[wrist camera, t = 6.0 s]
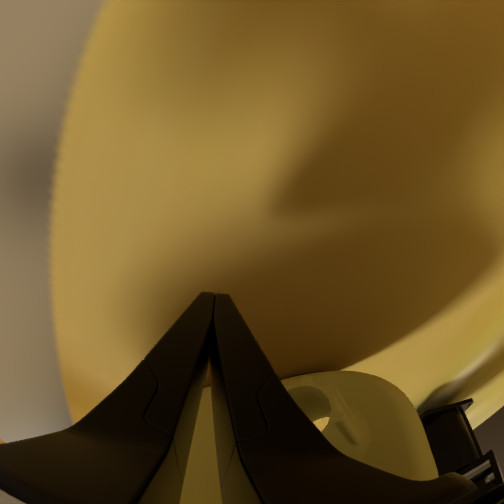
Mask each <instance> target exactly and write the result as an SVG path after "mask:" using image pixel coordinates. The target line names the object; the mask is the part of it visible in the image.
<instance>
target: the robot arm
mask: <svg viewBox="0 0 504 504" xmlns="http://www.w3.org/2000/svg"><path fill="white" fill-rule="evenodd" d="M214 301H215V302H214ZM213 311H214V312H213ZM210 344H211V345H210ZM209 355H210V358H209ZM208 363H209V369H210V385H211V399H212V411H213V423H214V434H215V445H216V455H217V464H218V474H219V482H220V489H221V499H222V504H504V477H503V474H502V472H501V469H500V466H499V463H498V461H497V458H496V456H495V453H494V451H493V450H492V449H491V450H489V451H488V452H487V453H486V454H485V455H484V456H483V454H482V452H481V449H480V447H479V444H478V442H477V440H476V437H475V435H474V432H473V430H472V428H471V426H470V423H469V421H468V419H467V417H466V414H465V412H464V411H466V410H467V409H468V408H469V407H470V406H471V405H472V404H473V402H474V401H473V399H472V398H470V399H467V400H464V401H460V402H457V403H453V404H450V405H446V406H442V407H438V408H434V409H430V410H427V411H425V412H424V413H423V414H421V415H420V416H419V418H420V420H421V423H422V425H423V428H424V431H425V434H426V437H427V440H428V443H429V446H430V449H431V452H432V455H433V458H434V461H435V464H436V467H437V470H438V476H439V477H437V478H435V479H431V480H425V481H418V480H411V479H407V478H403V477H400V476H397V475H395V474H392V473H389V472H386V471H383V470H381V469H378V468H375V467H373V466H370V465H368V464H365V463H363V462H360V461H358V460H355V459H353V458H351V457H349V456H347V455H345V454H343V453H342V452H341V451H339V450H338V449H337V448H335V447H334V446H333V445H332V444H331V443H330V442H329V441H328V440H327V438H326V437H325V436H324V435H323V434H322V433H321V432H320V430H319V429H318V428H317V427H316V426H315V425H314V424H313V422H312V421H311V420H310V419H309V418H308V417H307V415H306V414H305V413H304V412H303V411H302V410H301V408H300V407H299V406H298V405H297V403H296V402H295V401H294V399H293V398H292V397H291V396H290V394H289V393H288V391H287V390H286V388H285V387H284V385H283V384H282V382H281V381H280V379H279V377H278V376H277V374H276V373H274V372H275V371H274V369H273V368H272V366H271V364H270V363H269V361H268V360H267V358H266V356H265V355H264V353H263V351H262V350H261V348H260V346H259V345H258V343H257V341H256V340H255V338H254V336H253V335H252V333H251V331H250V329H249V328H248V326H247V324H246V323H245V321H244V319H243V318H242V316H241V314H240V312H239V311H238V309H237V307H236V306H235V304H234V302H233V300H232V299H231V297H230V295H228V294H221V293H217V294H216V295H215V294H214V293H211V292H201V293H200V294H199V295H198V296H197V297H196V298H195V300H194V301H193V302H192V303H191V304H190V305H189V306H188V308H187V309H186V310H185V311H184V312H183V313H182V315H181V316H180V317H179V318H178V319H177V320H176V321H175V323H174V324H173V325H172V326H171V327H170V328H169V330H168V331H167V332H166V333H165V334H164V335H163V337H162V338H161V339H160V340H159V341H158V342H157V344H156V345H155V346H154V347H153V348H152V349H151V351H150V352H149V353H148V354H147V355H146V356H145V358H144V360H142V361H141V362H140V363H139V365H138V366H137V367H136V368H135V369H134V370H133V371H132V372H131V374H130V375H129V376H128V377H127V378H126V379H125V380H124V381H123V382H122V383H121V384H120V385H119V386H118V387H117V388H116V389H115V390H114V391H112V392H111V393H110V394H109V395H108V396H107V397H106V398H105V399H103V400H102V401H101V402H100V403H99V404H98V405H97V406H96V407H94V408H93V409H92V410H91V411H90V412H89V413H88V414H87V415H85V416H84V417H83V418H82V419H81V420H80V421H78V422H77V423H75V424H74V425H72V426H71V427H69V428H67V429H64V430H62V431H58V432H54V433H51V434H46V435H43V436H38V437H34V438H29V439H24V440H20V441H15V442H10V443H2V444H0V504H179V503H180V498H181V493H182V486H183V482H184V477H185V472H186V467H187V463H188V458H189V453H190V448H191V443H192V438H193V434H194V429H195V424H196V419H197V415H198V410H199V405H200V401H201V396H202V391H203V387H204V382H205V378H206V373H207V369H208ZM488 462H490V464H491V466H490V467H488V468H487V469H485V470H483V471H482V472H480V473H479V474H477V475H476V476H474V477H472V478H470V479H468V478H466V477H465V476H467V475H469V474H470V473H472V472H474V471H476V470H477V469H479V468H480V467H482V466H484V465H485V464H487V463H488ZM492 475H494V476H495V478H494V479H492V480H491V481H489V479H488V478H489V477H491V476H492Z"/></svg>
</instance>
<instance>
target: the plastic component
mask: <svg viewBox="0 0 504 504" xmlns="http://www.w3.org/2000/svg"><path fill="white" fill-rule="evenodd" d="M280 381H281V382H282V384H283V385H284V387H285V388H286V390H287V391H288V393H289V394H290V396H291V397H292V398H293V399H294V401H295V402H296V403H297V405H298V406H299V407H300V408H301V410H302V411H303V412H304V413H305V414H306V415H307V417H308V418H309V419H310V420H311V421H312V422H313V421H315V420H317V419H320V418H323V417H330V418H329V422H328V424H327V426H326V427H325V428H324V429H323V431H322V432H321V433H322V434H323V435H324V436H325V437H326V438H327V440H328V441H329V442H330V443H331V444H332V445H333V446H334V447H335V448H337V449H338V450H339V451H341V452H342V453H343V454H345V455H347V456H349V457H351V458H353V459H355V460H358V461H360V462H363V463H365V464H368V465H370V466H373V467H375V468H378V469H381V470H383V471H386V472H389V473H392V474H395V475H397V476H400V477H403V478H407V479H411V480H418V481H425V480H431V479H435V478H437V477H439V476H438V470H437V467H436V464H435V461H434V458H433V455H432V452H431V449H430V446H429V443H428V440H427V437H426V434H425V431H424V428H423V425H422V423H421V420H420V418H419V415H418V413H417V411H416V410H415V408H414V406H413V404H412V403H411V401H410V400H409V399H408V397H407V396H406V395H405V394H404V393H403V392H402V391H401V390H400V389H399V388H398V387H396V386H395V385H393V384H392V383H390V382H388V381H387V380H385V379H383V378H380V377H378V376H375V375H371V374H367V373H362V372H356V371H327V372H318V373H310V374H305V375H300V376H295V377H290V378H286V379H282V380H280ZM179 504H222V499H221V489H220V482H219V474H218V464H217V455H216V445H215V434H214V423H213V411H212V399H211V386H208V387H205V388H203V391H202V396H201V401H200V405H199V410H198V415H197V419H196V424H195V429H194V434H193V438H192V443H191V448H190V453H189V458H188V463H187V467H186V472H185V477H184V482H183V486H182V493H181V498H180V503H179Z"/></svg>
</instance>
